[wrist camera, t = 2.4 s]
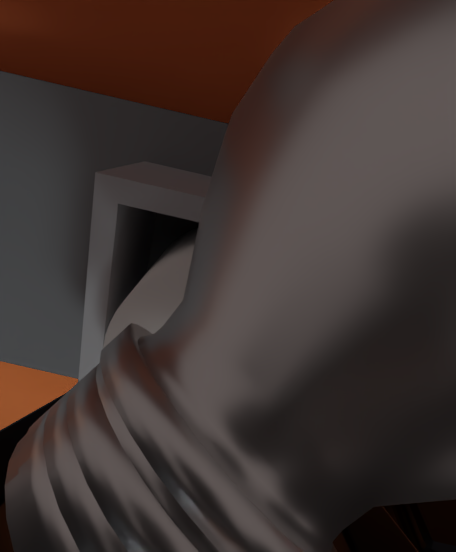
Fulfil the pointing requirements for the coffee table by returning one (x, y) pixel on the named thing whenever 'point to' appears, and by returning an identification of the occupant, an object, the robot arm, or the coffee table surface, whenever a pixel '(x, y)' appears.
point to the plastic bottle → (283, 320)
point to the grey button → (156, 290)
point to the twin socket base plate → (87, 212)
